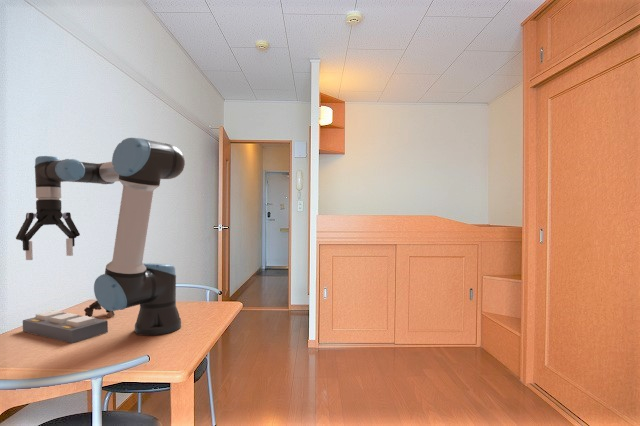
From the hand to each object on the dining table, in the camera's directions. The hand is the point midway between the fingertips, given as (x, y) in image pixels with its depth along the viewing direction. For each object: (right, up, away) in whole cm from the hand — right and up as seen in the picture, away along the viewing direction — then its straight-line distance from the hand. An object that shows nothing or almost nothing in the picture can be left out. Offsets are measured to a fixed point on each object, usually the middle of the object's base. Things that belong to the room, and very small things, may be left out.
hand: (50, 257), depth 138 cm
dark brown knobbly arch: (+12, -25, +13) cm, 30 cm away
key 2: (+18, -23, -11) cm, 31 cm away
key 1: (+2, -23, -3) cm, 23 cm away
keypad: (+10, -25, -7) cm, 28 cm away
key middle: (+10, -23, -7) cm, 25 cm away
